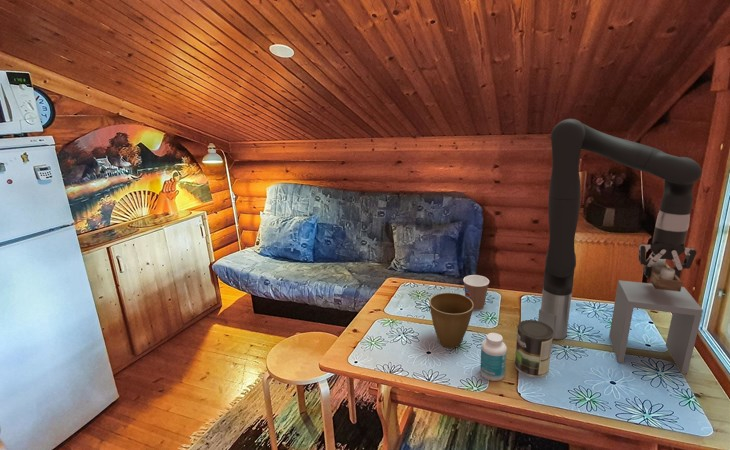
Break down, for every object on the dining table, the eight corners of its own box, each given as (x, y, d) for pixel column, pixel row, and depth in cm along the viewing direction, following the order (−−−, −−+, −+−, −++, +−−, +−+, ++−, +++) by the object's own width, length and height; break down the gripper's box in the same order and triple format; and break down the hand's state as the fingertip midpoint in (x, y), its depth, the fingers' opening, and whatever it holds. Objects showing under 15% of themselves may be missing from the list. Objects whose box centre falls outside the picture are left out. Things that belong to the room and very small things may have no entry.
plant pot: (433, 356, 131) (433, 314, 126) (426, 331, 145) (426, 293, 140) (477, 354, 131) (479, 312, 126) (465, 329, 145) (467, 291, 140)
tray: (642, 269, 126) (645, 254, 124) (664, 272, 123) (668, 256, 122) (655, 288, 113) (658, 272, 112) (680, 291, 111) (684, 274, 109)
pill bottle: (506, 383, 117) (509, 345, 113) (481, 381, 118) (483, 343, 114) (503, 367, 124) (505, 330, 120) (479, 365, 125) (480, 329, 121)
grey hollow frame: (609, 336, 136) (618, 280, 130) (671, 345, 130) (684, 287, 123) (617, 362, 123) (628, 301, 116) (687, 374, 117) (703, 310, 110)
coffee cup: (460, 300, 166) (461, 274, 162) (485, 300, 165) (486, 274, 161) (464, 312, 156) (465, 286, 153) (490, 312, 155) (491, 285, 152)
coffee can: (521, 378, 118) (524, 338, 114) (509, 357, 128) (512, 320, 124) (555, 377, 118) (559, 337, 114) (541, 356, 128) (545, 319, 124)
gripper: (697, 224, 114) (685, 276, 119) (639, 221, 119) (630, 270, 124) (707, 232, 107) (694, 286, 112) (645, 228, 112) (635, 280, 117)
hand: (660, 278), depth 118 cm, fingers closed on tray, 6 cm apart
